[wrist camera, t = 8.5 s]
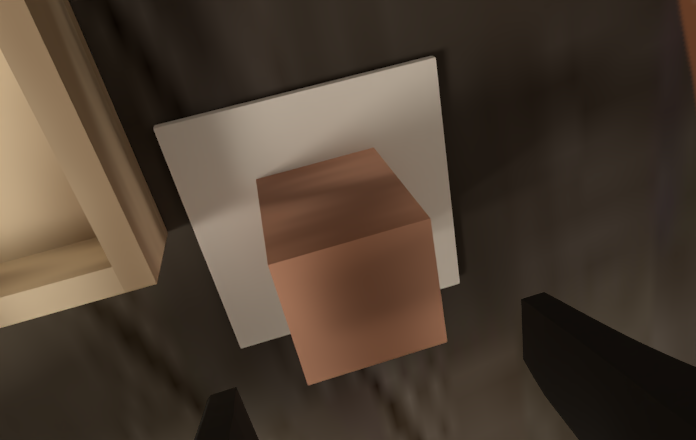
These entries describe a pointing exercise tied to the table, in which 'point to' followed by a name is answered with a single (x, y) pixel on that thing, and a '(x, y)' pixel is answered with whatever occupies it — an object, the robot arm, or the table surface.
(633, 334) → the table surface
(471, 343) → the table surface
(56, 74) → the organiser box
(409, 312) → the terracotta block
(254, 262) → the grey mat
